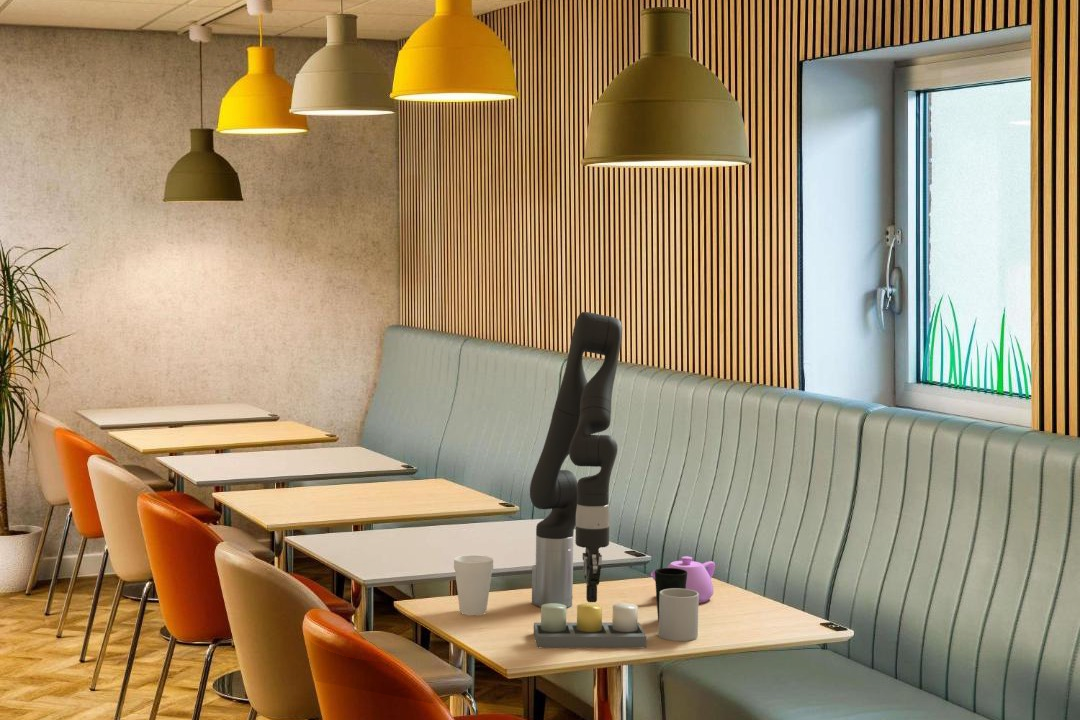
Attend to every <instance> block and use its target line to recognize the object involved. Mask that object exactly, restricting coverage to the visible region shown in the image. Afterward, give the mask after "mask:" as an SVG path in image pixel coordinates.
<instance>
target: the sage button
mask: <svg viewBox="0 0 1080 720" xmlns="http://www.w3.org/2000/svg"><path fill="white" fill-rule="evenodd" d="M540 609H541V610H540V613H541V615H540V623H541V629H542V630H544V631H549V632H560V631H564V630H566V623H567V607H566V605H563V604H557V603H549V604H543V605H542V606H541V607H540Z"/></svg>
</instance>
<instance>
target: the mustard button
mask: <svg viewBox="0 0 1080 720" xmlns="http://www.w3.org/2000/svg"><path fill="white" fill-rule="evenodd" d="M602 622H603V606H602V605H601V604H597V603H593V602H587V603H580V604H577V606H576V623H577V629H578V630H580V631H585V632H596V631H600V630H602Z"/></svg>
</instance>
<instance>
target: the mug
mask: <svg viewBox="0 0 1080 720" xmlns="http://www.w3.org/2000/svg"><path fill="white" fill-rule="evenodd" d="M699 604H700V603H699V593H698V592H696V591H694V590H689V589H681V588H671V589H664V590H661V591H660V594H659V622H658V636H659V637H660V638H661V639H663V640H667V641H673V642H689V641H693V640H697V638H698V636H699Z"/></svg>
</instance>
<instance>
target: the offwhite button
mask: <svg viewBox="0 0 1080 720" xmlns="http://www.w3.org/2000/svg"><path fill="white" fill-rule="evenodd" d="M638 612H639V606H638V605H637V604H632V603H627V602H626V603H615V604H612V629H613V630H616V631H621V632H632V631H636V630H637V625H638V621H639V620H638V619H639V613H638Z"/></svg>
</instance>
